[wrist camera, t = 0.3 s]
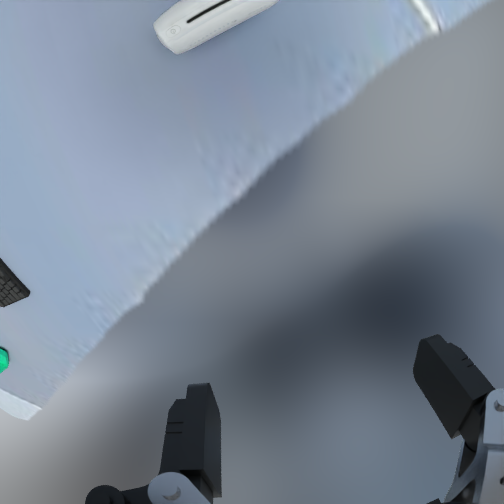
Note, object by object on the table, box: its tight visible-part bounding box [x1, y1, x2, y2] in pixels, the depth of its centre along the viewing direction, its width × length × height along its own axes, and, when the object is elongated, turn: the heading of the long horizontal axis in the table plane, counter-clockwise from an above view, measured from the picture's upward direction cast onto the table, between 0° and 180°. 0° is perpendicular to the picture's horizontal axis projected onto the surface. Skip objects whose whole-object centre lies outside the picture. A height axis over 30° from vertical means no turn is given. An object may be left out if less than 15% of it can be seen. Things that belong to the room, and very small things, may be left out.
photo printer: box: [153, 0, 279, 55], centre depth 20 cm, size 10×4×12 cm, turn 119°
